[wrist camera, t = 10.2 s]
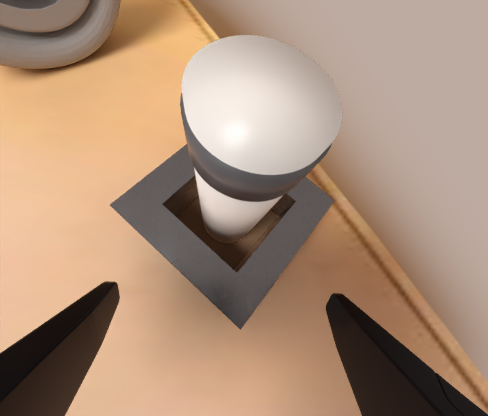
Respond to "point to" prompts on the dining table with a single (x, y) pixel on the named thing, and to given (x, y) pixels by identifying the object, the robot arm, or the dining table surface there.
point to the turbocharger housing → (53, 31)
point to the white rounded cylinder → (254, 127)
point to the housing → (200, 255)
